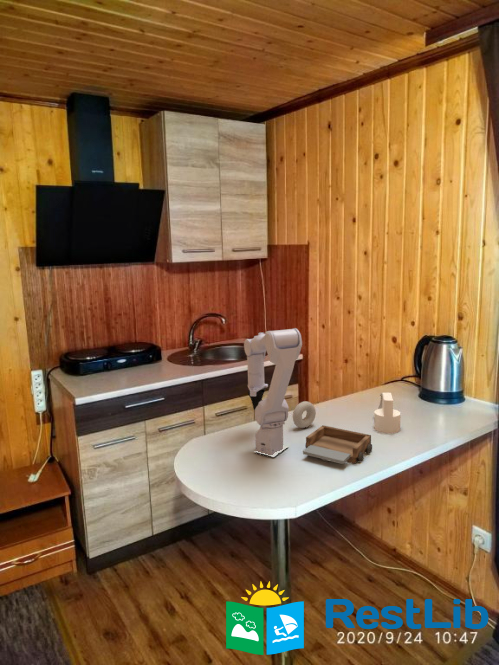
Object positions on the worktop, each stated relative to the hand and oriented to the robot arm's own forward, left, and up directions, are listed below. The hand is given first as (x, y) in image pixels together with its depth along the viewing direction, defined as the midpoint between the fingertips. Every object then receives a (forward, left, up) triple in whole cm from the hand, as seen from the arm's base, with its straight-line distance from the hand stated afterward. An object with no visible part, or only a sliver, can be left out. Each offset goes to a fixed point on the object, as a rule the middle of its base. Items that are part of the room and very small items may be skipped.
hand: (257, 409), depth 169 cm
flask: (+36, -33, -10) cm, 50 cm away
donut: (+14, -11, -10) cm, 20 cm away
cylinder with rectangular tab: (+28, -37, -10) cm, 48 cm away
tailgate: (-4, -30, -8) cm, 31 cm away
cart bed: (+2, -30, -10) cm, 31 cm away
